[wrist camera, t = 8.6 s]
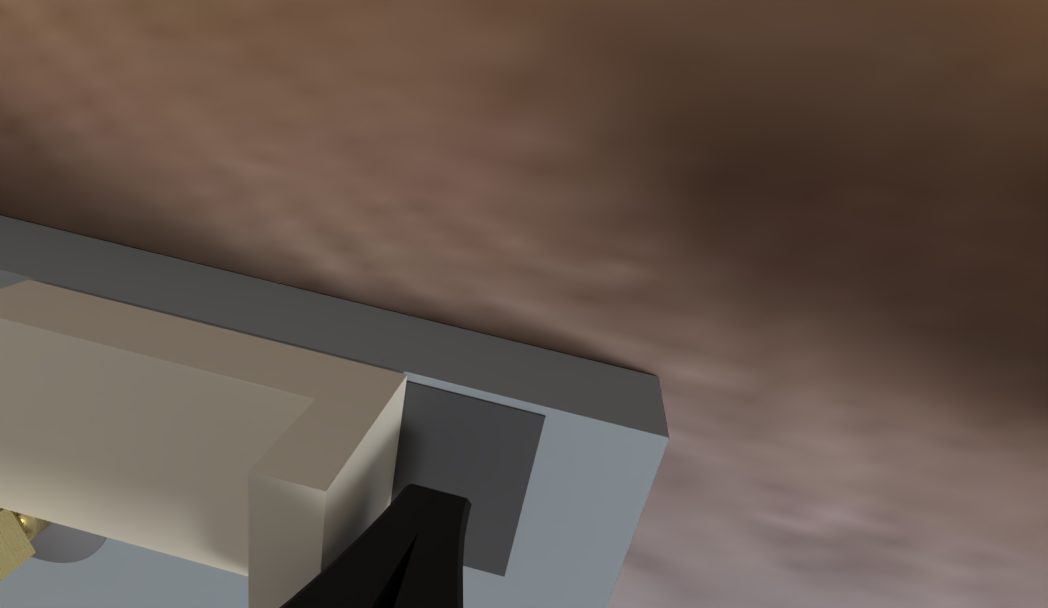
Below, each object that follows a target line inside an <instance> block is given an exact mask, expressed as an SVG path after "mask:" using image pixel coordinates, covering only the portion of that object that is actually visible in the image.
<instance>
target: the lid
mask: <svg viewBox="0 0 1048 608" xmlns="http://www.w3.org/2000/svg"><path fill="white" fill-rule="evenodd" d="M406 381H407V375H406V374H402V373H398V372H394V371H390V370H386V369H382V368H378V367H374V366H370V365H366V364H363V363H359V362H355V361H351V360H347V359H343V358H339V357H335V356H331V355H327V354H323V353H319V352H315V351H311V350H307V349H303V348H299V347H295V346H291V345H287V344H283V343H279V342H275V341H271V340H267V339H263V338H259V337H255V336H251V335H247V334H243V333H239V332H235V331H231V330H227V329H223V328H219V327H215V326H211V325H208V324H204V323H200V322H196V321H192V320H188V319H184V318H180V317H176V316H172V315H168V314H164V313H160V312H156V311H152V310H148V309H144V308H140V307H136V306H132V305H128V304H124V303H120V302H116V301H112V300H108V299H104V298H100V297H96V296H92V295H88V294H84V293H80V292H76V291H72V290H68V289H64V288H60V287H56V286H53V285H49V284H45V283H41V282H37V281H33V280H26V281H23V282H20V283H17V284H14V285H11V286H8V287H5V288H2V289H0V508H3V509H7V510H10V511H14V512H17V513H21V514H25V515H28V516H32V517H35V518H39V519H43V520H46V521H50V522H53V523H57V524H61V525H64V526H68V527H72V528H75V529H79V530H82V531H86V532H90V533H93V534H97V535H100V536H104V537H108V538H111V539H115V540H118V541H122V542H126V543H129V544H133V545H136V546H140V547H144V548H147V549H151V550H154V551H158V552H162V553H165V554H169V555H172V556H176V557H180V558H183V559H187V560H190V561H194V562H198V563H201V564H205V565H208V566H212V567H216V568H219V569H223V570H226V571H230V572H234V573H237V574H241V575H244V576H248V602H249V608H279V607H281V606H282V605H283V604H284V603H286V602H287V601H288V600H289V599H291V598H292V597H293V596H294V595H295V594H296V593H298V592H299V591H300V590H301V589H302V588H303V587H305V586H306V585H307V584H308V583H309V582H310V581H312V580H313V579H314V578H315V577H316V576H317V575H318V574H320V573H321V572H322V571H323V570H324V569H325V568H327V567H328V566H329V565H330V564H331V563H332V562H333V561H334V560H335V559H336V558H337V557H339V556H340V555H341V554H342V553H343V552H344V551H345V550H346V549H347V548H348V547H349V546H350V545H351V544H352V543H353V542H354V541H355V540H356V539H357V538H358V537H359V536H360V535H361V534H362V533H363V532H364V531H365V530H366V529H367V528H368V527H369V526H370V525H371V524H372V523H373V522H374V521H375V520H376V519H377V518H378V517H379V516H380V515H381V514H382V513H383V512H384V511H385V509H386V508H387V507H388V506H389V505H390V502H391V495H392V487H393V479H394V472H395V464H396V457H397V449H398V442H399V434H400V426H401V419H402V411H403V404H404V396H405V388H406Z"/></svg>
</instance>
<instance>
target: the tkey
mask: <svg viewBox="0 0 1048 608" xmlns="http://www.w3.org/2000/svg"><path fill="white" fill-rule="evenodd" d="M52 523H53V522H50V521H46V520H43V519H39V518H35V517H32V516H28V515H25V514H21V513H17V512H14V511H10V510H7V509H3V508H0V581H1V580H3V579H4V578H5V577H6V576H7V575H9V574H10V573H11V572H12V571H14V570H15V569H16V568H17V567H18V566H20V565H21V564H22V563H23V562H25V561H26V560H27V559H28V558H30V557H31V556H32V555H33V554H34V553H36V552H35V550H34V548H33V547H32V545H31V543H30V542H29V541H31V540H32V539H33V538H35V537H36V536H37V535H38V534H40V533H41V532H42V531H43V530H45V529H46V528H47V527H48V526H50V525H51V524H52Z"/></svg>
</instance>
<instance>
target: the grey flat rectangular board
mask: <svg viewBox="0 0 1048 608" xmlns="http://www.w3.org/2000/svg"><path fill="white" fill-rule="evenodd" d="M26 280H33V281H37V282H41V283H45V284H49V285H53V286H56V287H60V288H64V289H68V290H72V291H76V292H80V293H84V294H88V295H92V296H96V297H100V298H104V299H108V300H112V301H116V302H120V303H124V304H128V305H132V306H136V307H140V308H144V309H148V310H152V311H156V312H160V313H164V314H168V315H172V316H176V317H180V318H184V319H188V320H192V321H196V322H200V323H204V324H208V325H211V326H215V327H219V328H223V329H227V330H231V331H235V332H239V333H243V334H247V335H251V336H255V337H259V338H263V339H267V340H271V341H275V342H279V343H283V344H287V345H291V346H295V347H299V348H303V349H307V350H311V351H315V352H319V353H323V354H327V355H331V356H335V357H339V358H343V359H347V360H351V361H355V362H359V363H363V364H366V365H370V366H374V367H378V368H382V369H386V370H390V371H394V372H398V373H402V374H406V375H407V381H406V388H405V396H404V404H403V411H402V419H401V426H400V434H399V442H398V449H397V457H396V464H395V472H394V479H393V487H392V495H391V502H390V504H391V503H392V502H393V500H394V499H395V498H396V497H397V496H398V495H399V493H400V492H401V491H402V490H403V489H404V487H405V486H407V485H409V484H411V483H412V484H416V485H420V486H424V487H427V488H431V489H435V490H439V491H442V492H446V493H450V494H454V495H457V496H461V497H465V498H468V500H469V501H470V502H471V504H472V506H471V511H470V515H469V520H468V525H467V529H466V534H465V542H464V557H463V608H606V607H607V604H608V602H609V599H610V596H611V594H612V591H613V588H614V586H615V583H616V580H617V577H618V575H619V572H620V569H621V567H622V564H623V561H624V559H625V556H626V553H627V550H628V548H629V545H630V542H631V540H632V537H633V534H634V532H635V529H636V526H637V523H638V521H639V518H640V515H641V513H642V510H643V507H644V505H645V502H646V499H647V496H648V494H649V491H650V488H651V486H652V483H653V480H654V477H655V475H656V472H657V469H658V467H659V464H660V461H661V459H662V456H663V453H664V450H665V448H666V445H667V442H668V440H669V434H668V428H667V422H666V417H665V411H664V405H663V400H662V394H661V388H660V382H659V377H657V376H653V375H649V374H645V373H641V372H637V371H633V370H629V369H625V368H620V367H616V366H612V365H608V364H604V363H600V362H596V361H592V360H588V359H584V358H580V357H576V356H572V355H567V354H563V353H559V352H555V351H551V350H547V349H543V348H539V347H535V346H531V345H527V344H523V343H519V342H514V341H510V340H506V339H502V338H498V337H494V336H490V335H486V334H482V333H478V332H474V331H470V330H466V329H462V328H457V327H453V326H449V325H445V324H441V323H437V322H433V321H429V320H425V319H421V318H417V317H413V316H409V315H404V314H400V313H396V312H392V311H388V310H384V309H380V308H376V307H372V306H368V305H364V304H360V303H356V302H351V301H347V300H343V299H339V298H335V297H331V296H327V295H323V294H319V293H315V292H311V291H307V290H303V289H298V288H294V287H290V286H286V285H282V284H278V283H274V282H270V281H266V280H262V279H258V278H254V277H250V276H245V275H241V274H237V273H233V272H229V271H225V270H221V269H217V268H213V267H209V266H205V265H201V264H197V263H192V262H188V261H184V260H180V259H176V258H172V257H168V256H164V255H160V254H156V253H152V252H148V251H144V250H140V249H135V248H131V247H127V246H123V245H119V244H115V243H111V242H107V241H103V240H99V239H95V238H91V237H87V236H82V235H78V234H74V233H70V232H66V231H62V230H58V229H54V228H50V227H46V226H42V225H38V224H34V223H29V222H25V221H21V220H17V219H13V218H9V217H5V216H1V215H0V289H2V288H5V287H8V286H11V285H14V284H17V283H20V282H23V281H26ZM29 542H30V543H31V545H32V547H33V548H34V550H35V552H36V553H34V554H33V555H32V556H31V557H30V558H28V559H27V560H26V561H25V562H23V563H22V564H21V565H20V566H18V567H17V568H16V569H15V570H14V571H12V572H11V573H10V574H9V575H7V576H6V577H5V578H4V579H3V580H1V581H0V608H249V602H248V576H244V575H241V574H237V573H234V572H230V571H226V570H223V569H219V568H216V567H212V566H208V565H205V564H201V563H198V562H194V561H190V560H187V559H183V558H180V557H176V556H172V555H169V554H165V553H162V552H158V551H154V550H151V549H147V548H144V547H140V546H136V545H133V544H129V543H126V542H122V541H118V540H115V539H111V538H108V537H104V536H100V535H97V534H93V533H90V532H86V531H82V530H79V529H75V528H72V527H68V526H64V525H61V524H57V523H52V524H51V525H50V526H48V527H47V528H46V529H45V530H43V531H42V532H41V533H40V534H38V535H37V536H36V537H35V538H33V539H32V540H31V541H29Z"/></svg>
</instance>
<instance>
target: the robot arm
mask: <svg viewBox="0 0 1048 608" xmlns="http://www.w3.org/2000/svg"><path fill="white" fill-rule="evenodd" d="M471 506H472V504H471V502H470V501H469V500H468V498H465V497H461V496H457V495H454V494H450V493H446V492H442V491H439V490H435V489H431V488H427V487H424V486H420V485H416V484H412V483H411V484H409V485H407V486H405V487H404V489H403V490H402V491H401V492H400V493H399V495H398V496H397V497H396V498H395V499H394V500H393V502H392V503H391V504H390V505H389V506H388V507H387V508H386V509H385V511H384V512H383V513H382V514H381V515H380V516H379V517H378V518H377V519H376V520H375V521H374V522H373V523H372V524H371V525H370V526H369V527H368V528H367V529H366V530H365V531H364V532H363V533H362V534H361V535H360V536H359V537H358V538H357V539H356V540H355V541H354V542H353V543H352V544H351V545H350V546H349V547H348V548H347V549H346V550H345V551H344V552H343V553H342V554H341V555H340V556H339V557H337V558H336V559H335V560H334V561H333V562H332V563H331V564H330V565H329V566H328V567H327V568H325V569H324V570H323V571H322V572H321V573H320V574H318V575H317V576H316V577H315V578H314V579H313V580H312V581H310V582H309V583H308V584H307V585H306V586H305V587H303V588H302V589H301V590H300V591H299V592H298V593H296V594H295V595H294V596H293V597H292V598H291V599H289V600H288V601H287V602H286V603H284V604H283V605H282V606H281V607H279V608H463V557H464V542H465V534H466V529H467V525H468V520H469V515H470V511H471Z"/></svg>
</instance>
